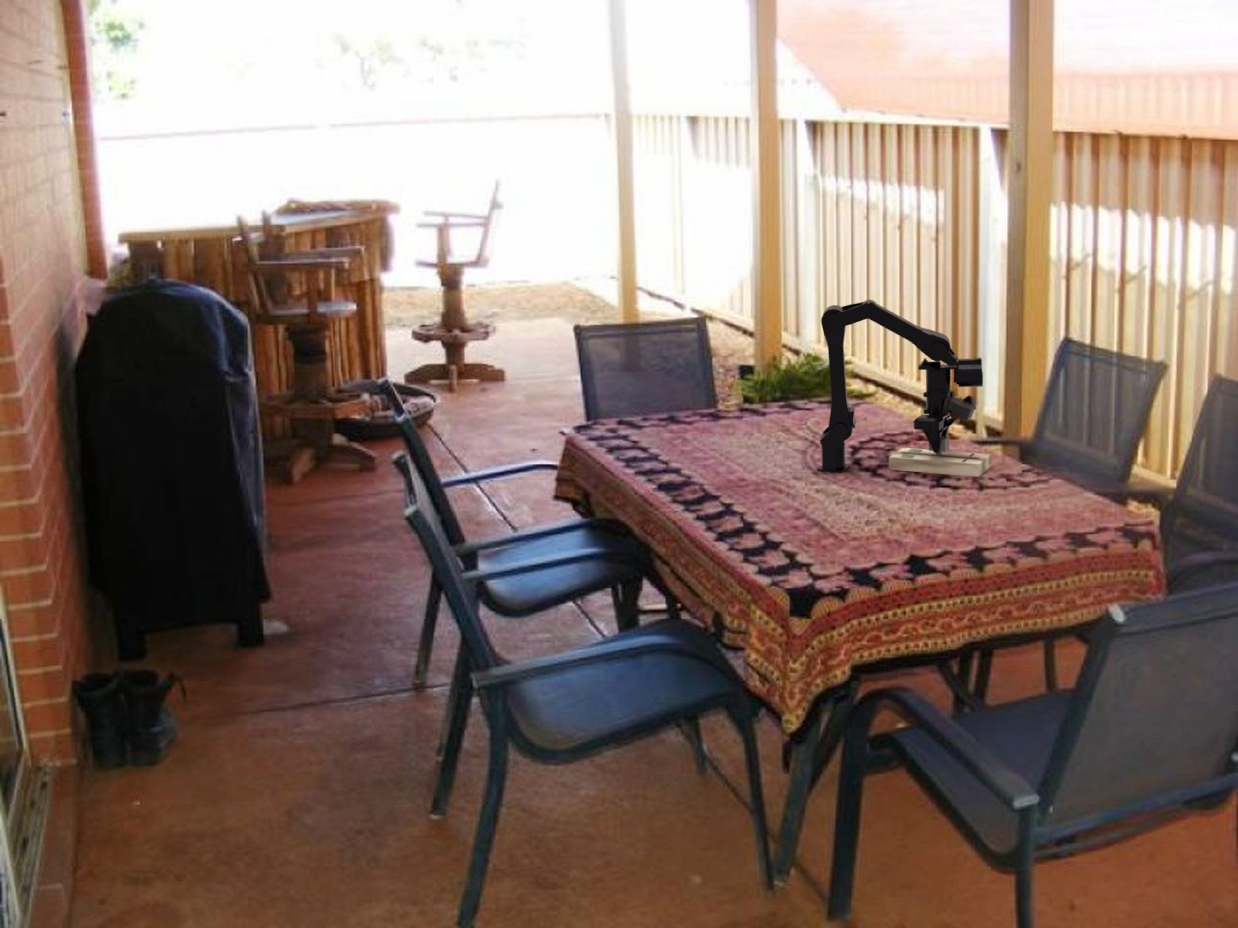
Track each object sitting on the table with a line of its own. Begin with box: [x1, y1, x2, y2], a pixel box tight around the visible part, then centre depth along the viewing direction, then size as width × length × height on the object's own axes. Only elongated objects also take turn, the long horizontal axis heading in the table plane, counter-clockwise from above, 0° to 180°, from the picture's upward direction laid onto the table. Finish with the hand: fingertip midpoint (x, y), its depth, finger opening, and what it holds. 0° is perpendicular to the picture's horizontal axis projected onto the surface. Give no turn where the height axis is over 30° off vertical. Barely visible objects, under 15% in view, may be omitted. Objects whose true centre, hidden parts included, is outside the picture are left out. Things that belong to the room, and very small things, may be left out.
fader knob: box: [928, 436, 950, 455], centre depth 362 cm, size 3×4×4 cm
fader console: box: [888, 447, 992, 478], centre depth 363 cm, size 10×22×3 cm, turn 60°
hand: (938, 451), depth 362 cm, fingers closed on fader knob, 3 cm apart
